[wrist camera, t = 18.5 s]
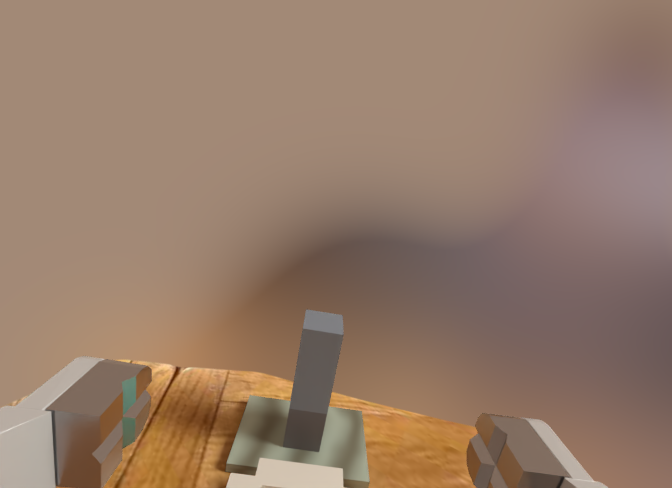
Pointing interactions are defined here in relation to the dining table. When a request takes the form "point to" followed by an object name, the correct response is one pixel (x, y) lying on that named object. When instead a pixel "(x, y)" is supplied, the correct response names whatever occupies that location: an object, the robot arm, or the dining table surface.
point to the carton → (288, 476)
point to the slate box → (313, 380)
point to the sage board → (267, 442)
